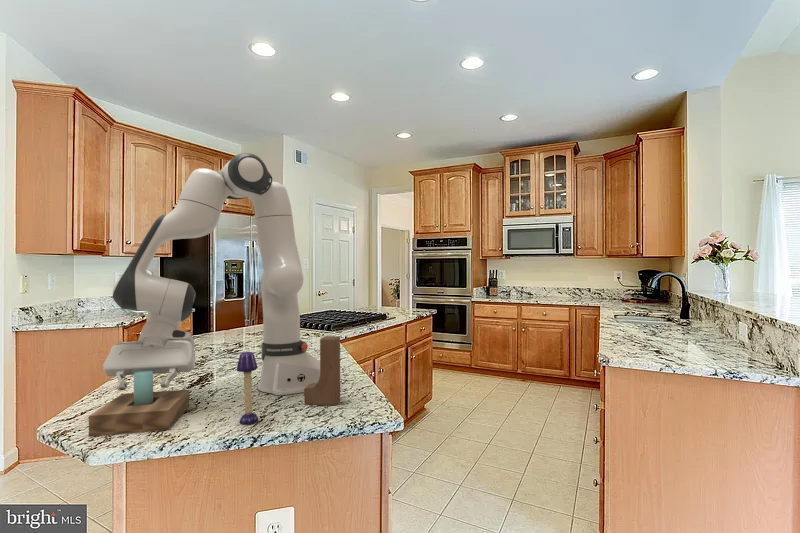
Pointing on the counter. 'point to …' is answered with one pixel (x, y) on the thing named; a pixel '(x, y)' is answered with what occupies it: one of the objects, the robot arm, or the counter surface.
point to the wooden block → (326, 375)
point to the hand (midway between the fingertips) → (142, 388)
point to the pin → (143, 387)
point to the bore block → (139, 413)
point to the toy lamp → (247, 385)
